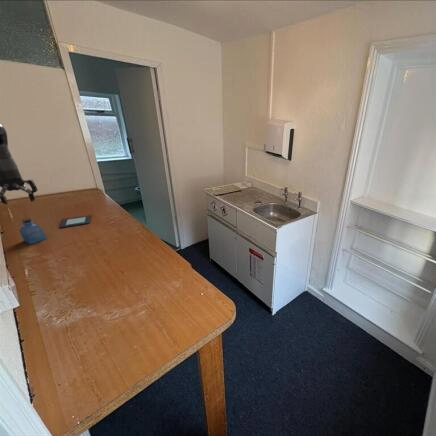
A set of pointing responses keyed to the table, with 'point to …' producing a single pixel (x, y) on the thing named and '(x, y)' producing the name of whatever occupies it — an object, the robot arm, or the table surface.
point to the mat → (75, 221)
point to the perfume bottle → (31, 231)
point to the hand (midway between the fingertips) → (20, 202)
